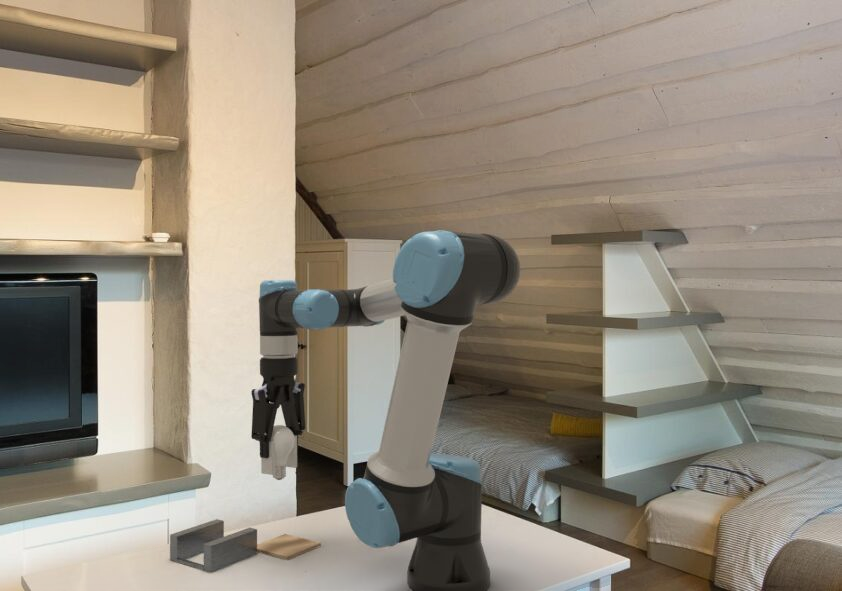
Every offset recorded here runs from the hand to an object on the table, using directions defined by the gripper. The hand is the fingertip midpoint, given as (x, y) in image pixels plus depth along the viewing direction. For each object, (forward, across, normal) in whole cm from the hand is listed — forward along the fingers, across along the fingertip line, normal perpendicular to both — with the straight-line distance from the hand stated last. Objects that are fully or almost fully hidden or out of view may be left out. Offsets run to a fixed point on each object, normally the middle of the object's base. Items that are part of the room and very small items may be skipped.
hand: (279, 470), depth 161 cm
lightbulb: (+2, 0, 0) cm, 2 cm away
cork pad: (+16, -2, 0) cm, 16 cm away
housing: (+16, +10, -8) cm, 21 cm away
